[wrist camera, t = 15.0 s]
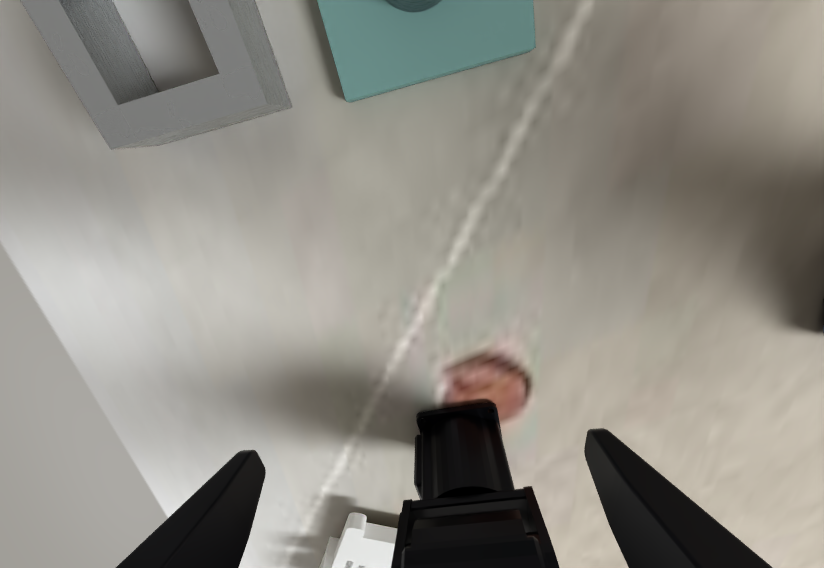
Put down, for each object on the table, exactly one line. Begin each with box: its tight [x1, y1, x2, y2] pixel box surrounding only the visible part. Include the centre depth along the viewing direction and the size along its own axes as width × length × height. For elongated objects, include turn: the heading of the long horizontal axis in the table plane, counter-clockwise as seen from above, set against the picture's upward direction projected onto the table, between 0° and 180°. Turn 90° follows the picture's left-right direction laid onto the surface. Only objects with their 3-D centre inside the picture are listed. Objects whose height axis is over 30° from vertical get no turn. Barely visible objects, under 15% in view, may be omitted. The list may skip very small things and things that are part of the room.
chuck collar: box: [20, 0, 292, 150], centre depth 14 cm, size 8×8×3 cm
